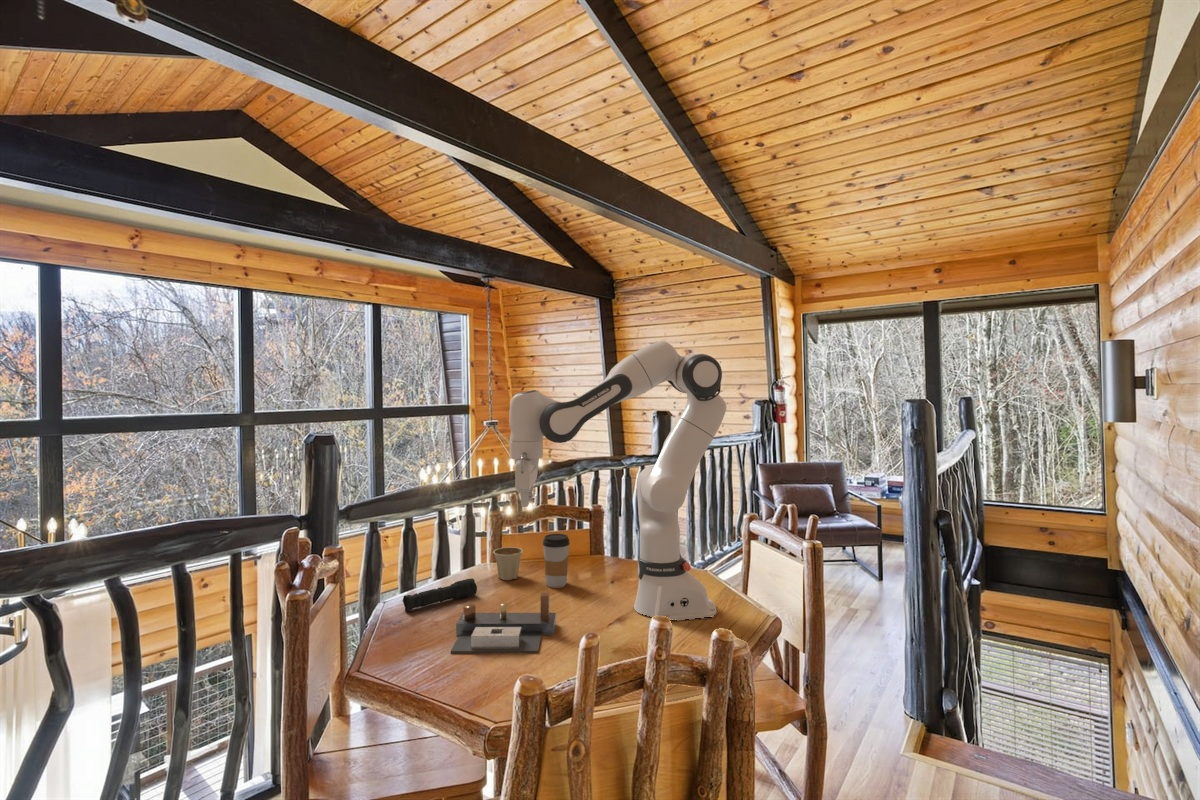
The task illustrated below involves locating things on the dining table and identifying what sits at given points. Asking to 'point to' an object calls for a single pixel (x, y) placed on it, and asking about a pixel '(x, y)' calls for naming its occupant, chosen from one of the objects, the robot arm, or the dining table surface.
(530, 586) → the dining table surface
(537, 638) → the rubber mat
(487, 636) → the whitish rectangular block
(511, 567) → the flower pot
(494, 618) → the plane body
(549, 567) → the coffee cup
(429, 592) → the flashlight
